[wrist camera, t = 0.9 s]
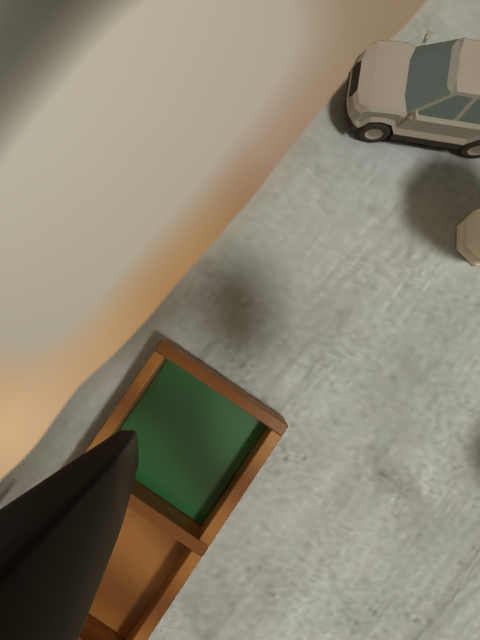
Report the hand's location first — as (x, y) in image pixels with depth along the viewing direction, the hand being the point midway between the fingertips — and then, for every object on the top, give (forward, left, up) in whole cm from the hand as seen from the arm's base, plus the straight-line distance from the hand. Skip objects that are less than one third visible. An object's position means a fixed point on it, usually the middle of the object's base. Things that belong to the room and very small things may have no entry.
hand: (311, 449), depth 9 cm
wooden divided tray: (-12, +2, -16) cm, 20 cm away
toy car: (+22, +1, -16) cm, 28 cm away
